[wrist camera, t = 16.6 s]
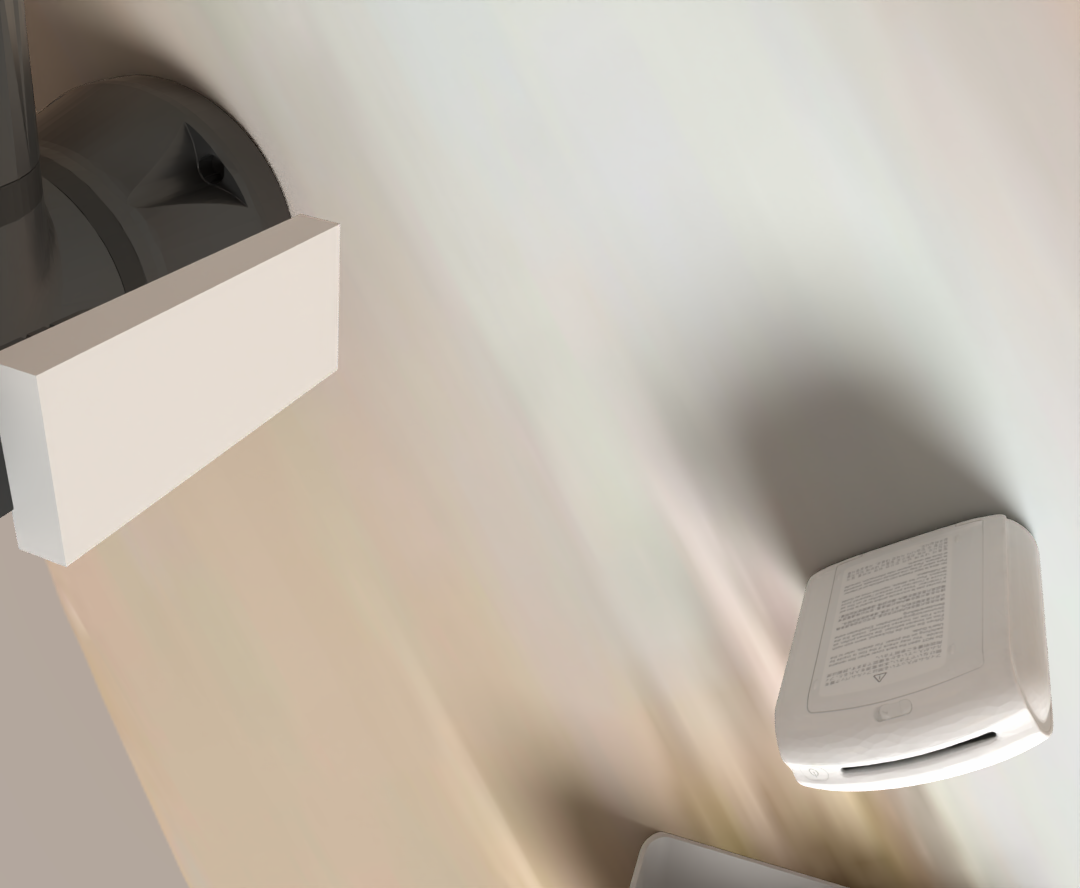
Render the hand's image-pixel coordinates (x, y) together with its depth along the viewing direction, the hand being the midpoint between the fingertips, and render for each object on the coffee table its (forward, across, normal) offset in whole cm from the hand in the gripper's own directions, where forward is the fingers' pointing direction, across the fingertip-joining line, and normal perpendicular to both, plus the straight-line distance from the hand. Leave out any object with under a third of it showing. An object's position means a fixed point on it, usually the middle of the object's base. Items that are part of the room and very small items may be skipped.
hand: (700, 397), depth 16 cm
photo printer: (+27, -8, +19) cm, 34 cm away
